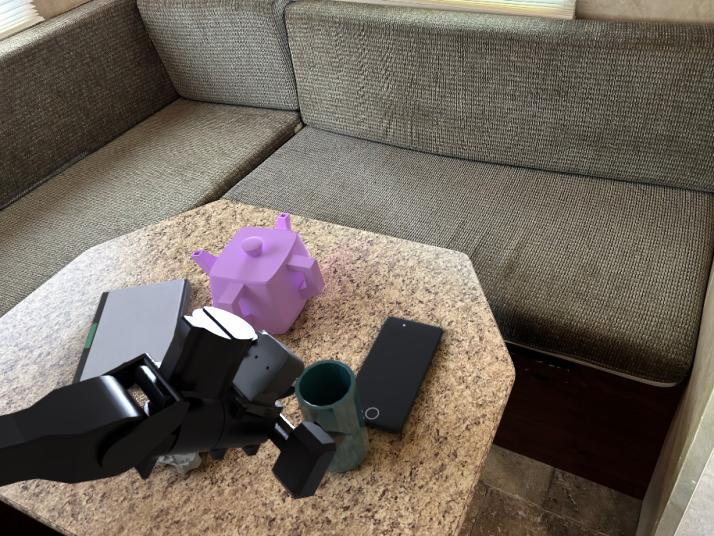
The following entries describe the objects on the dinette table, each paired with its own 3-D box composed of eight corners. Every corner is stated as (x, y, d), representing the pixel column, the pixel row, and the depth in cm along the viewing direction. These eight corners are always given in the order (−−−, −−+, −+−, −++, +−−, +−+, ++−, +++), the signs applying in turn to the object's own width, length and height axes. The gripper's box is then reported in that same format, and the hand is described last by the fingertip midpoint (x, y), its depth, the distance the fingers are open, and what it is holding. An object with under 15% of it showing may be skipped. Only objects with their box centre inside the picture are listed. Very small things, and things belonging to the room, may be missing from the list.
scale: (75, 398, 86) (67, 386, 84) (107, 300, 101) (101, 289, 99) (175, 381, 86) (169, 369, 85) (191, 287, 102) (187, 275, 100)
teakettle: (237, 359, 89) (213, 299, 81) (203, 292, 100) (180, 234, 92) (340, 309, 95) (328, 249, 87) (297, 251, 106) (282, 194, 98)
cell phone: (337, 417, 79) (336, 413, 79) (388, 319, 92) (388, 315, 91) (400, 436, 76) (400, 431, 76) (444, 332, 89) (444, 327, 88)
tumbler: (316, 477, 73) (295, 414, 65) (314, 428, 78) (294, 364, 70) (371, 467, 74) (357, 403, 65) (366, 419, 79) (352, 354, 71)
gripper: (300, 402, 50) (406, 398, 63) (191, 296, 62) (300, 311, 74) (244, 515, 52) (359, 489, 64) (147, 391, 63) (261, 390, 75)
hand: (318, 413), depth 69 cm, fingers open, 9 cm apart
